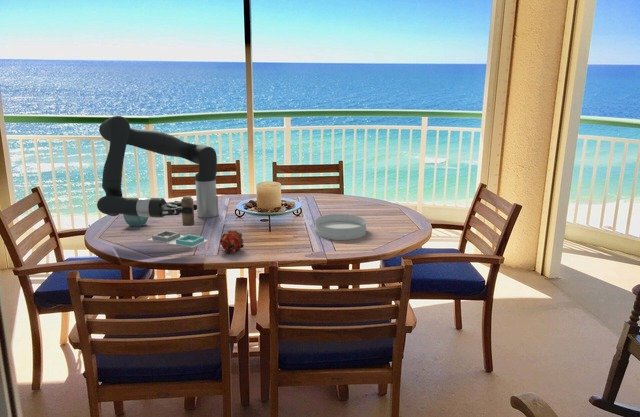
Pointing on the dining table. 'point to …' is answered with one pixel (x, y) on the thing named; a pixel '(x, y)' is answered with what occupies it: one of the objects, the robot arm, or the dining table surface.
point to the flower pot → (135, 220)
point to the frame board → (178, 239)
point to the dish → (340, 226)
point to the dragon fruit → (232, 241)
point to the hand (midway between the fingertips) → (194, 208)
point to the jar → (186, 217)
